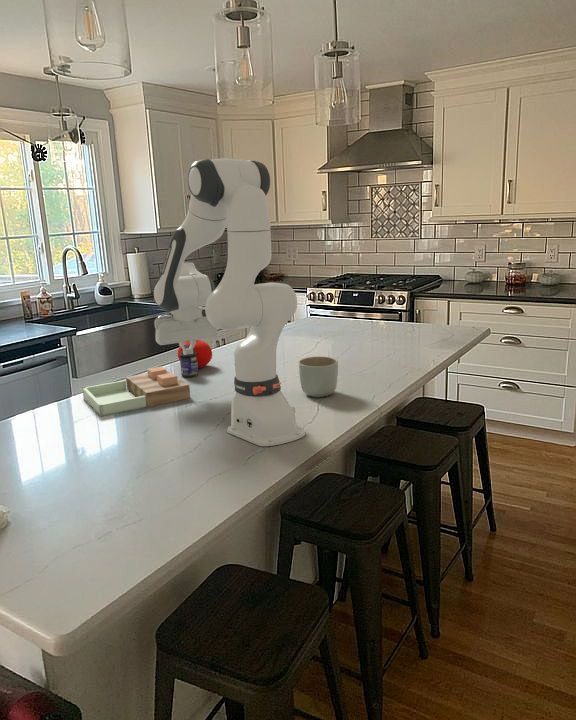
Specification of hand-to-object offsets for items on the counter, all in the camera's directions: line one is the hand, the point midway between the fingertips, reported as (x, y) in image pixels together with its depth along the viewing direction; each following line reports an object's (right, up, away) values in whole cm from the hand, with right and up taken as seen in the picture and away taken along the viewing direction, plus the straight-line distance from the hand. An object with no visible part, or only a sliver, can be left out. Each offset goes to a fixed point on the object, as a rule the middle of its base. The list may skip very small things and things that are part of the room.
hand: (188, 354), depth 193 cm
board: (-10, -13, +2) cm, 17 cm away
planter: (+43, -13, -5) cm, 45 cm away
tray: (-23, -15, -5) cm, 28 cm away
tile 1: (-6, -9, -2) cm, 12 cm away
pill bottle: (-3, -8, +22) cm, 24 cm away
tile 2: (-11, -7, +6) cm, 15 cm away
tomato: (-3, -5, +33) cm, 33 cm away
